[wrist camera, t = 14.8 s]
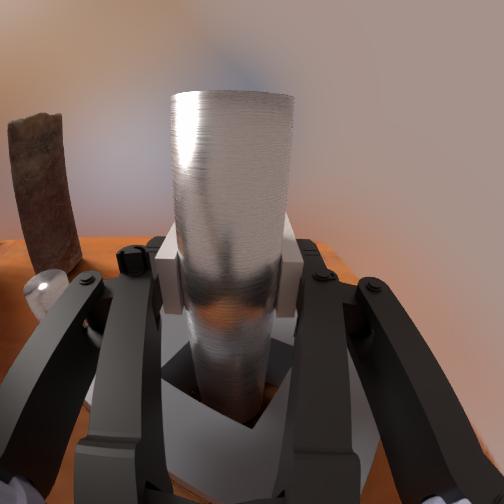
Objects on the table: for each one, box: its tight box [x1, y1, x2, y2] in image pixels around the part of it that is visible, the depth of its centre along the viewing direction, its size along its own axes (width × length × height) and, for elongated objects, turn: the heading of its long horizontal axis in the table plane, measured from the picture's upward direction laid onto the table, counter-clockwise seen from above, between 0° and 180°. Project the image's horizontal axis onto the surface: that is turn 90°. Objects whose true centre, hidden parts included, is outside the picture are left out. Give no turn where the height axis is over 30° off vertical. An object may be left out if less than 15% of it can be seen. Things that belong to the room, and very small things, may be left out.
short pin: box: [23, 269, 85, 326], centre depth 18 cm, size 4×4×7 cm
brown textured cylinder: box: [8, 113, 82, 275], centre depth 25 cm, size 8×7×20 cm
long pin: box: [171, 90, 294, 424], centre depth 12 cm, size 4×4×17 cm
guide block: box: [83, 305, 380, 504], centre depth 16 cm, size 18×14×5 cm
